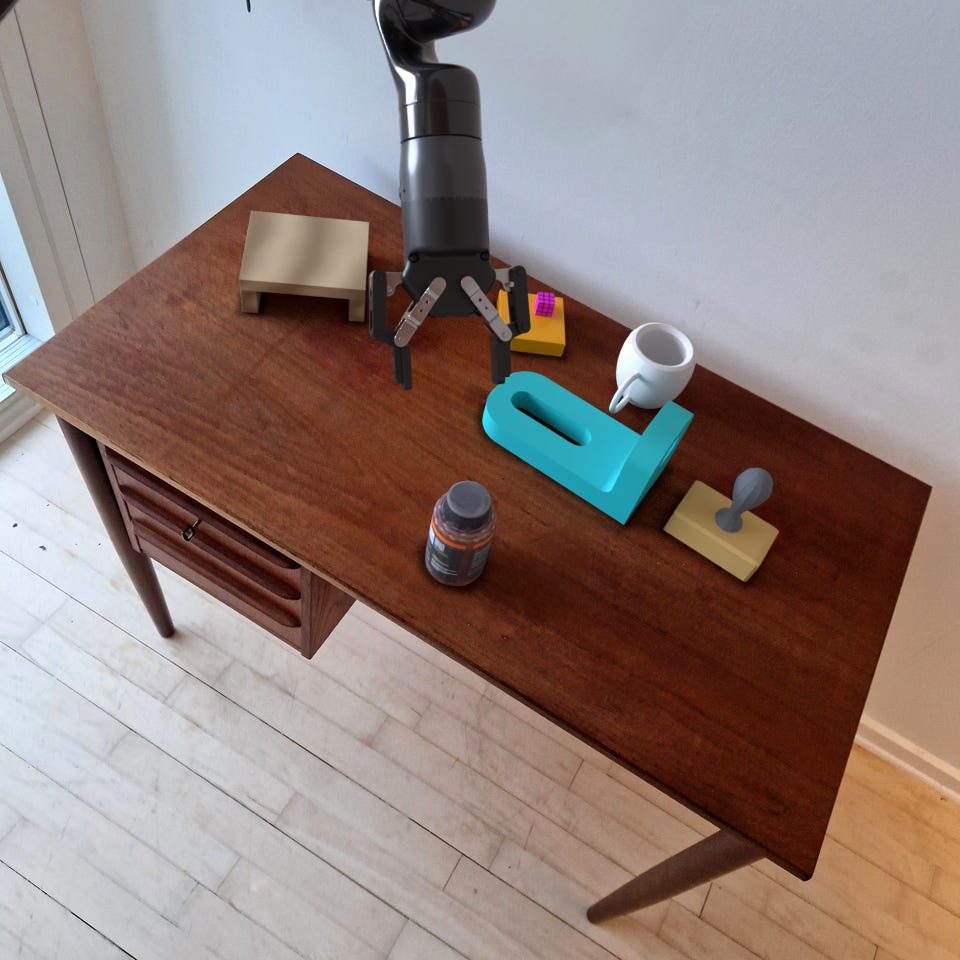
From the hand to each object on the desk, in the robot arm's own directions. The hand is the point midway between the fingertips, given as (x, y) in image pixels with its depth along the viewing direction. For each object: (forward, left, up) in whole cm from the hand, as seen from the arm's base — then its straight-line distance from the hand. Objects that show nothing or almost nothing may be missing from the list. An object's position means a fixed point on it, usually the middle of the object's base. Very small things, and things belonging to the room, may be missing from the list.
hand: (453, 386), depth 76 cm
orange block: (+12, +23, -15) cm, 30 cm away
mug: (+24, +13, -15) cm, 31 cm away
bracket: (+15, +5, -15) cm, 22 cm away
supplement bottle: (+2, -10, -15) cm, 18 cm away
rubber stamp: (+30, -6, -15) cm, 34 cm away
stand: (-15, +28, -15) cm, 36 cm away
